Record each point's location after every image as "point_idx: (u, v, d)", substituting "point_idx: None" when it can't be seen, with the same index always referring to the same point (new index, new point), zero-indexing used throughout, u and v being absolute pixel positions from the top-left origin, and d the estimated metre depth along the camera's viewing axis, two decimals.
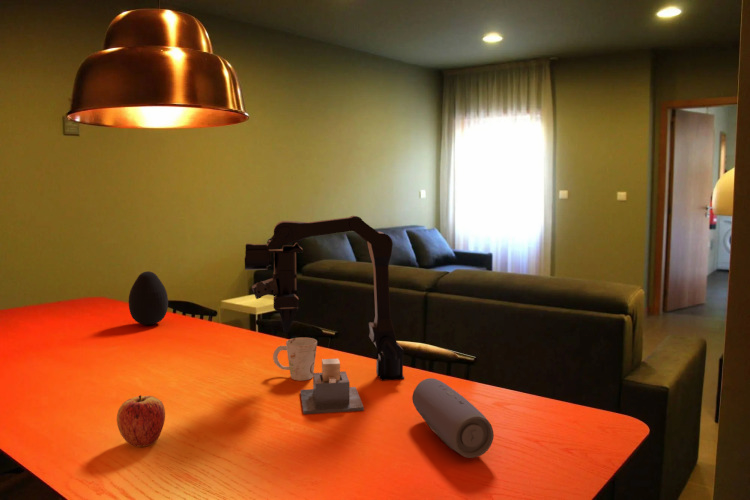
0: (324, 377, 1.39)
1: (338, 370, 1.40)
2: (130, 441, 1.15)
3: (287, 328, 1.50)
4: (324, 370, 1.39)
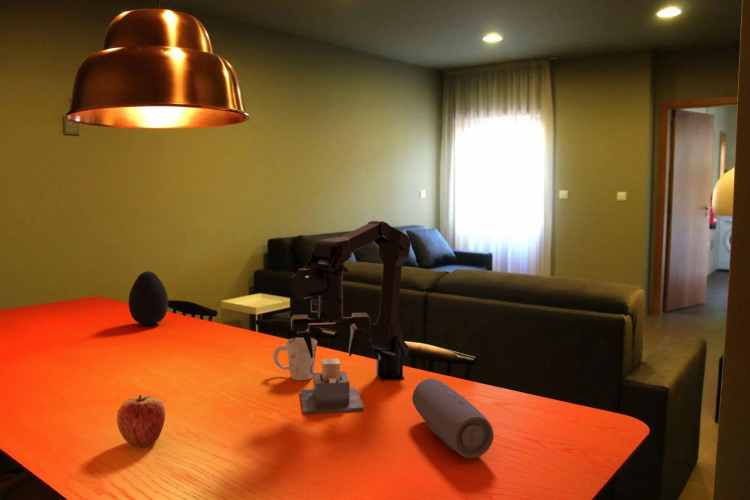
0: (324, 377, 1.39)
1: (338, 370, 1.40)
2: (130, 441, 1.15)
3: None
4: (324, 370, 1.39)
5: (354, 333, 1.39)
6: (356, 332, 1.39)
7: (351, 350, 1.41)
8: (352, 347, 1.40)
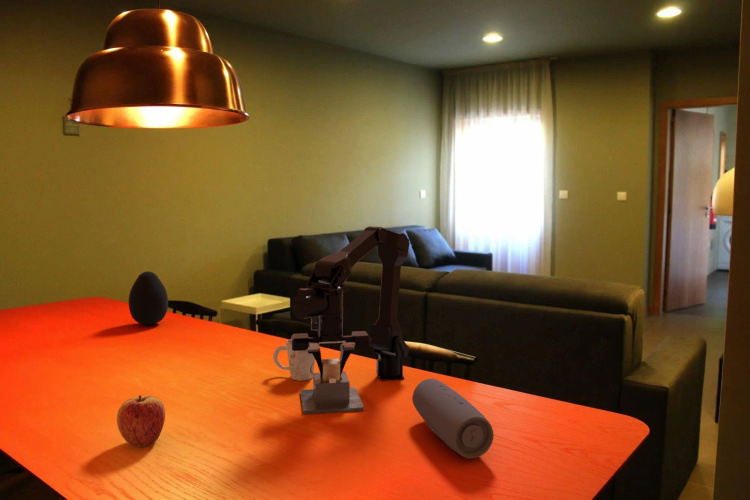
0: (324, 377, 1.39)
1: (338, 370, 1.40)
2: (130, 441, 1.15)
3: None
4: (324, 370, 1.39)
5: (344, 352, 1.39)
6: (346, 351, 1.39)
7: (341, 369, 1.41)
8: (342, 366, 1.40)
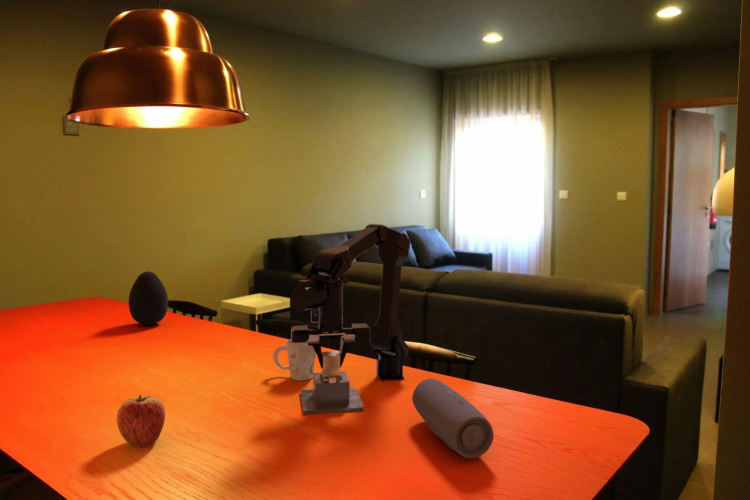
0: (324, 369, 1.39)
1: (338, 362, 1.40)
2: (130, 441, 1.15)
3: None
4: (324, 362, 1.39)
5: (344, 344, 1.39)
6: (346, 343, 1.38)
7: (341, 361, 1.41)
8: (342, 358, 1.40)
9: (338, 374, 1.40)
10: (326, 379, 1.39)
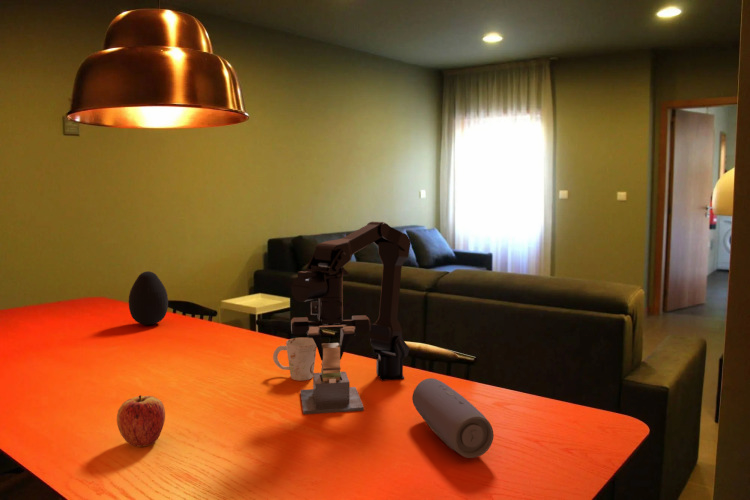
0: (324, 361, 1.39)
1: (338, 354, 1.39)
2: (130, 441, 1.15)
3: None
4: (324, 354, 1.39)
5: (344, 336, 1.38)
6: (346, 335, 1.38)
7: (341, 353, 1.40)
8: (342, 350, 1.40)
9: (338, 366, 1.40)
10: (326, 371, 1.39)
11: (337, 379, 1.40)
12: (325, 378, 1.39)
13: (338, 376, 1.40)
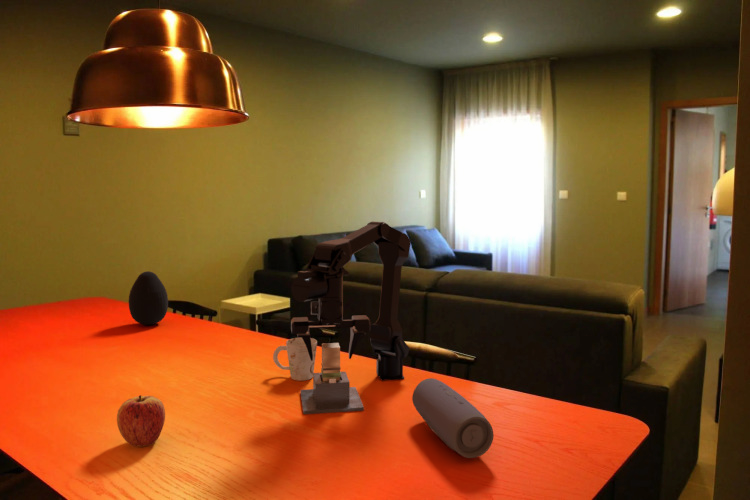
0: (324, 361, 1.39)
1: (338, 354, 1.39)
2: (130, 441, 1.15)
3: None
4: (324, 354, 1.39)
5: (354, 336, 1.39)
6: (356, 335, 1.39)
7: (351, 353, 1.41)
8: (352, 350, 1.40)
9: (338, 366, 1.40)
10: (326, 371, 1.39)
11: (337, 379, 1.40)
12: (325, 378, 1.39)
13: (338, 376, 1.40)
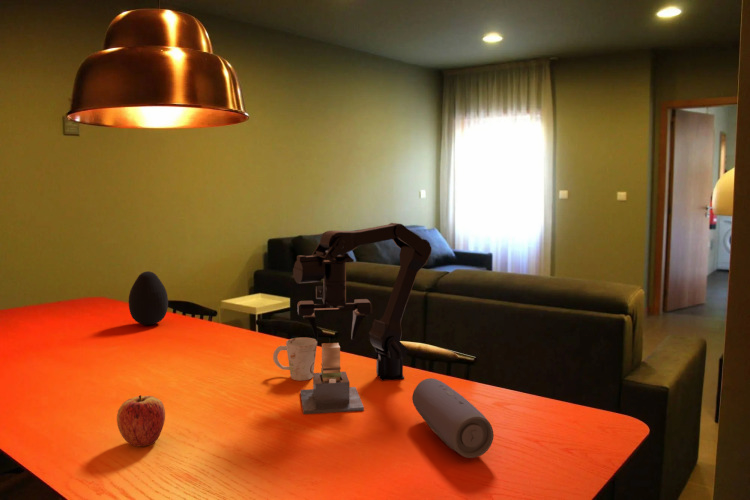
0: (324, 361, 1.39)
1: (338, 354, 1.39)
2: (130, 441, 1.15)
3: None
4: (324, 354, 1.39)
5: (356, 318, 1.49)
6: (358, 317, 1.49)
7: (353, 334, 1.51)
8: (354, 331, 1.50)
9: (338, 366, 1.40)
10: (326, 371, 1.39)
11: (337, 379, 1.40)
12: (325, 378, 1.39)
13: (338, 376, 1.40)
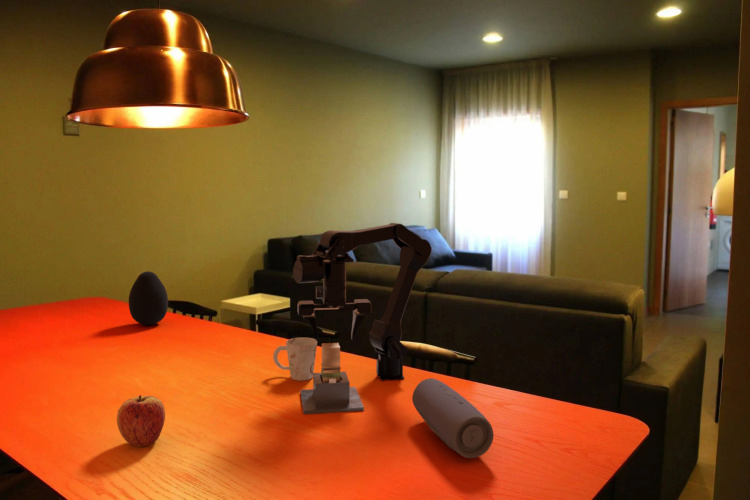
0: (324, 361, 1.39)
1: (338, 354, 1.39)
2: (130, 441, 1.15)
3: None
4: (324, 354, 1.39)
5: (356, 318, 1.49)
6: (358, 317, 1.49)
7: (353, 334, 1.51)
8: (354, 331, 1.50)
9: (338, 366, 1.40)
10: (326, 371, 1.39)
11: (337, 379, 1.40)
12: (325, 378, 1.39)
13: (338, 376, 1.40)
